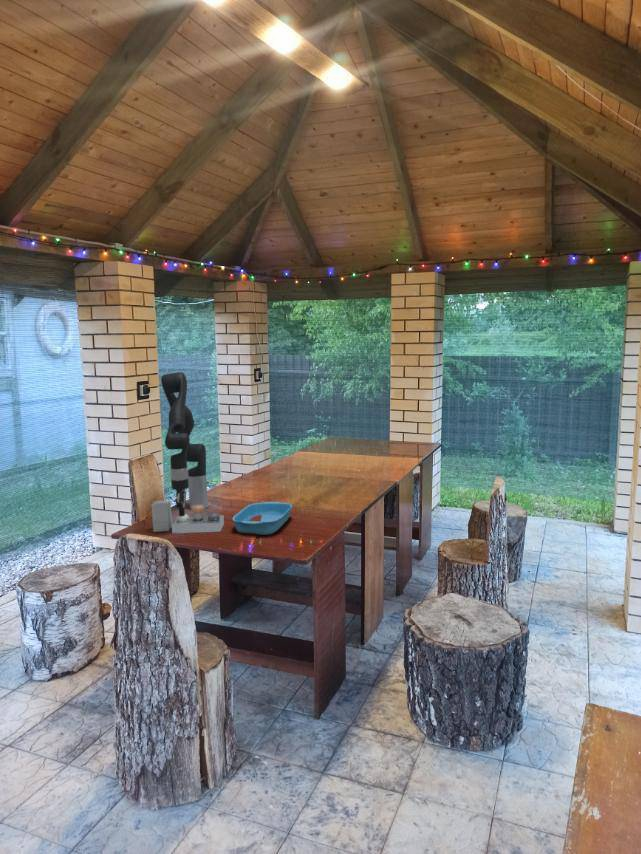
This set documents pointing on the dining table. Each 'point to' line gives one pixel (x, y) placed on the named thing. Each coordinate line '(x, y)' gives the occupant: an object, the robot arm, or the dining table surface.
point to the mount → (198, 525)
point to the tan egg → (197, 511)
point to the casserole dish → (262, 517)
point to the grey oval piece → (182, 518)
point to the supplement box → (161, 515)
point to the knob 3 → (213, 516)
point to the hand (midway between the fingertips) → (182, 515)
